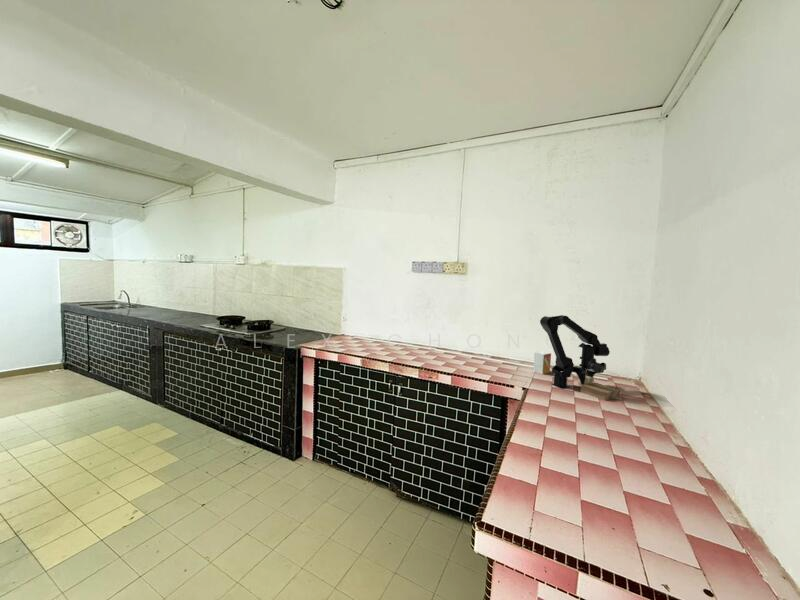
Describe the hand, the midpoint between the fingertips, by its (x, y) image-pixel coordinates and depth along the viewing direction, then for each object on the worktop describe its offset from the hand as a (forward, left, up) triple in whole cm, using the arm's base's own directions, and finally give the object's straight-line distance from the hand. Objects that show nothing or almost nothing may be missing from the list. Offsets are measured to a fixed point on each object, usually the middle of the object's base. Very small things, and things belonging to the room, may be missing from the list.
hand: (585, 384), depth 166 cm
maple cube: (0, 0, -1) cm, 1 cm away
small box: (-4, +25, -1) cm, 25 cm away
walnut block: (-6, -11, -2) cm, 13 cm away
